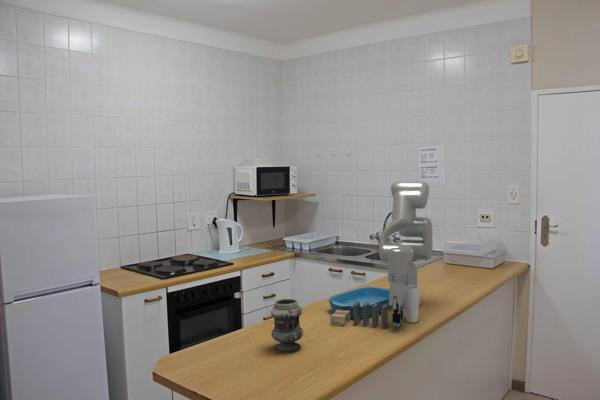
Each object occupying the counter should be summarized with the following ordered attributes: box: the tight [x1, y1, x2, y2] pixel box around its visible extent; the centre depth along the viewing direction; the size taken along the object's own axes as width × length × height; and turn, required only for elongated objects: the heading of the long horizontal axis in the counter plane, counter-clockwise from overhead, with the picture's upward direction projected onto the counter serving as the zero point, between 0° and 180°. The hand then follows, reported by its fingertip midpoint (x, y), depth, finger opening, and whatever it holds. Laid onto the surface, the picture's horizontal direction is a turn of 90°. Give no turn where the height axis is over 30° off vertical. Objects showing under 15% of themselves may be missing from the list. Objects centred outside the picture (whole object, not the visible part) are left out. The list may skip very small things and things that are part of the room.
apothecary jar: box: [270, 298, 304, 354], centre depth 185 cm, size 12×12×18 cm
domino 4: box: [380, 304, 389, 330], centre depth 207 cm, size 2×5×9 cm, turn 158°
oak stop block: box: [330, 310, 352, 327], centre depth 214 cm, size 10×6×4 cm, turn 158°
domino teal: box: [394, 305, 402, 328], centre depth 205 cm, size 2×5×9 cm, turn 158°
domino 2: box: [362, 303, 370, 328], centre depth 210 cm, size 2×5×9 cm, turn 158°
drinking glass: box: [404, 285, 421, 323], centre depth 214 cm, size 7×7×15 cm
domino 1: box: [353, 302, 361, 327], centre depth 212 cm, size 2×5×9 cm, turn 158°
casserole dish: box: [327, 286, 393, 319], centre depth 233 cm, size 37×22×7 cm, turn 133°
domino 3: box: [371, 303, 379, 329], centre depth 209 cm, size 2×5×9 cm, turn 158°
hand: (397, 320), depth 205 cm, fingers closed on domino teal, 4 cm apart
